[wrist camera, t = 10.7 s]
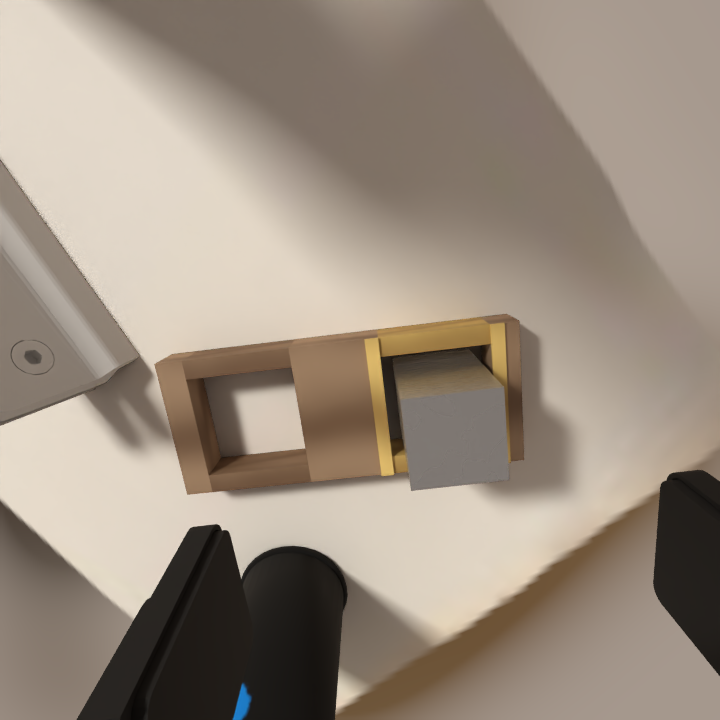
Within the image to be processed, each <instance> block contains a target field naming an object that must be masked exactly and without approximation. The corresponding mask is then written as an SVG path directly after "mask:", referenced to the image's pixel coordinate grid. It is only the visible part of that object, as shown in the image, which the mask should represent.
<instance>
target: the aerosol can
mask: <svg viewBox="0 0 720 720" xmlns="http://www.w3.org/2000/svg"><path fill="white" fill-rule="evenodd" d="M241 581H242V585H243V589H244V593H245V597H246V601H247V605H248V609H249V613H250V617H251V621H252V625H253V643H252V647H251V651H250V655H249V659H248V663H247V667H246V671H245V675H244V679H243V682H242V686H241V690H240V694H239V698H238V702H237V706H236V710H235V714H234V718H233V720H335V710H336V697H337V683H338V669H339V655H340V641H341V627H342V613H343V610H344V608H345V605H346V601H347V586H346V583H345V580H344V577H343V575H342V574H341V572H340V570H339V569H338V568H337V566H336V565H335V564H334V563H333V562H332V561H331V560H329V559H328V558H327V557H325V556H324V555H322V554H320V553H318V552H316V551H314V550H311V549H307V548H304V547H296V546H285V547H279V548H274V549H271V550H269V551H266V552H264V553H262V554H261V555H259V556H258V557H256V558H255V559H254V560H253V561H252V562H251V563H250V564H249V565H248V567H247V568H246V570H245V572H244V573H243V576H242V579H241Z"/></svg>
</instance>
